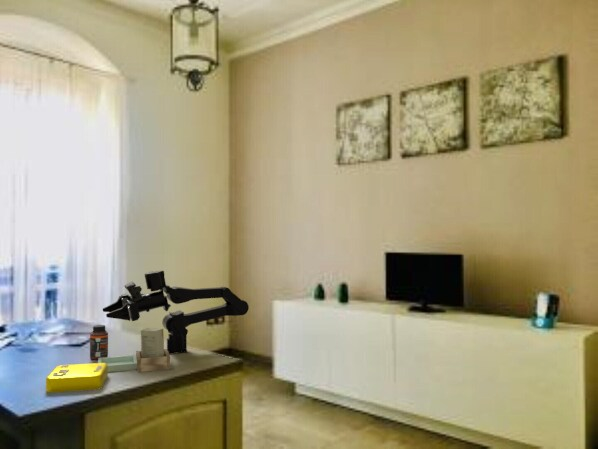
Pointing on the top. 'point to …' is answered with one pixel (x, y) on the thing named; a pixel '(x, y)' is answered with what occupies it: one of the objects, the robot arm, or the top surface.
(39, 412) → the top surface
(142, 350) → the skincare box
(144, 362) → the frame
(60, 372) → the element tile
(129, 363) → the tray
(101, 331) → the supplement bottle
